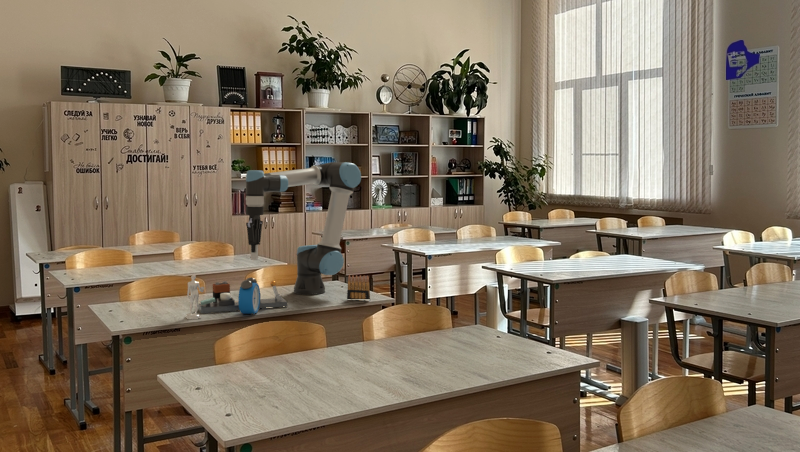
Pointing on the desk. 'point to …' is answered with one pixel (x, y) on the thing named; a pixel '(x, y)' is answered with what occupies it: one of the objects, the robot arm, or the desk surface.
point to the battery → (220, 289)
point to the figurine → (194, 293)
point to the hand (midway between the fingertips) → (254, 259)
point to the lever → (274, 288)
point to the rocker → (207, 301)
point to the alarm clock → (249, 296)
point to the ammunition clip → (358, 288)
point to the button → (225, 296)
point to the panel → (234, 305)
